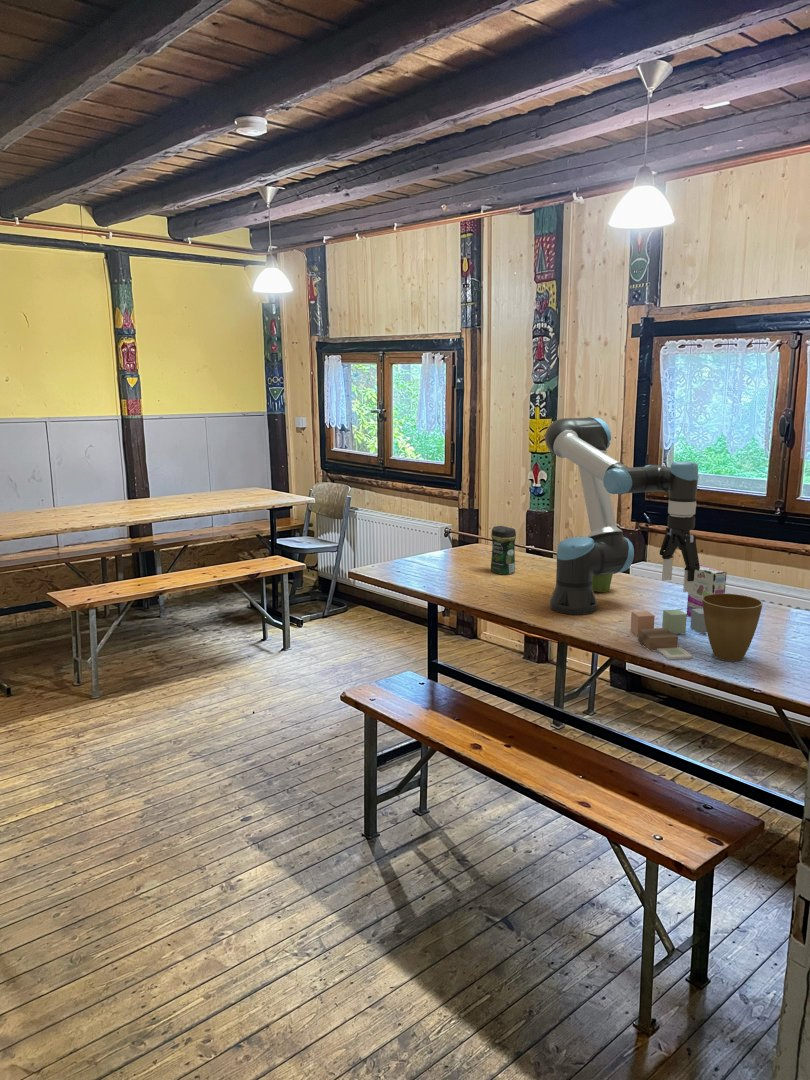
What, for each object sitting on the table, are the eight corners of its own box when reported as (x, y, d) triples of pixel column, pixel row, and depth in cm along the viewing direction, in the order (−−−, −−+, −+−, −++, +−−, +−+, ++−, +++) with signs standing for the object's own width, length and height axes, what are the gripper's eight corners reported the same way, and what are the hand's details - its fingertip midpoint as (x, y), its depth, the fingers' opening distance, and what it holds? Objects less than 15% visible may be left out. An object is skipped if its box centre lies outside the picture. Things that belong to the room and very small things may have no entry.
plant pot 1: (601, 596, 265) (602, 565, 262) (575, 589, 274) (576, 559, 272) (623, 590, 271) (624, 560, 269) (597, 584, 281) (598, 554, 279)
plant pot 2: (756, 651, 209) (761, 595, 206) (758, 669, 195) (763, 610, 192) (699, 644, 215) (703, 590, 211) (696, 661, 201) (701, 604, 198)
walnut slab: (637, 642, 218) (638, 629, 217) (664, 641, 219) (665, 628, 218) (649, 651, 210) (650, 638, 209) (677, 650, 211) (678, 636, 210)
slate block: (690, 627, 230) (691, 608, 228) (705, 627, 230) (707, 608, 229) (698, 633, 225) (699, 613, 224) (714, 632, 225) (715, 613, 224)
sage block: (662, 629, 229) (663, 610, 228) (677, 628, 229) (679, 609, 228) (669, 634, 224) (670, 615, 223) (685, 633, 224) (686, 614, 223)
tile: (656, 650, 210) (656, 647, 210) (680, 649, 211) (680, 646, 211) (668, 659, 203) (668, 656, 203) (692, 658, 204) (693, 655, 204)
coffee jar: (487, 571, 301) (487, 525, 298) (502, 568, 306) (502, 523, 302) (503, 576, 294) (504, 529, 290) (518, 573, 298) (519, 527, 294)
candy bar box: (723, 623, 234) (727, 571, 230) (710, 625, 232) (714, 573, 229) (698, 613, 244) (701, 564, 241) (685, 615, 242) (689, 565, 239)
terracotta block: (630, 630, 228) (631, 611, 226) (646, 629, 228) (647, 610, 227) (637, 635, 223) (638, 616, 222) (653, 635, 223) (654, 615, 222)
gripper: (716, 521, 208) (710, 596, 212) (673, 508, 232) (669, 575, 236) (690, 522, 207) (685, 597, 211) (650, 508, 231) (647, 576, 235)
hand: (677, 585), depth 224 cm, fingers open, 13 cm apart
